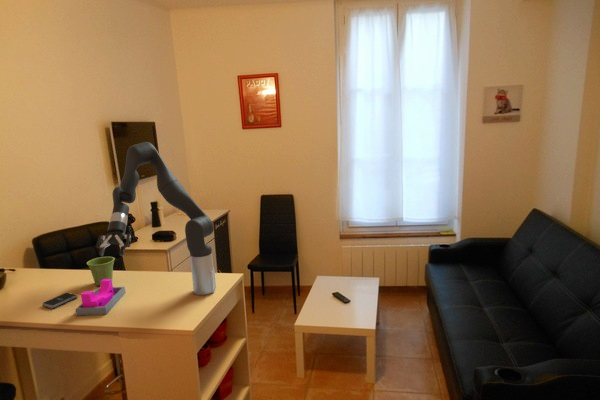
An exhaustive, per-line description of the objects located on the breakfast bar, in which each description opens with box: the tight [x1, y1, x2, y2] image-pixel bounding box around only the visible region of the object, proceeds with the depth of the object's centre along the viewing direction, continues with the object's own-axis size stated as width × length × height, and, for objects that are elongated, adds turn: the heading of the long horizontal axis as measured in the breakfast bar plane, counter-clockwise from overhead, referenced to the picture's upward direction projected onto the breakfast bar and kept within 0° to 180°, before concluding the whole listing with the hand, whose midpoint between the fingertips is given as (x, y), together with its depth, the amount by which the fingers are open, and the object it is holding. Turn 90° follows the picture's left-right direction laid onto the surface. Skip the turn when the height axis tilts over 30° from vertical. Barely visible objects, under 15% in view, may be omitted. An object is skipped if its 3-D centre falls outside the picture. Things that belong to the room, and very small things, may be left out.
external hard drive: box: [42, 292, 77, 310], centre depth 167 cm, size 7×11×2 cm, turn 156°
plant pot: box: [86, 256, 116, 287], centre depth 185 cm, size 12×12×11 cm
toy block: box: [80, 278, 114, 308], centre depth 163 cm, size 15×6×8 cm, turn 173°
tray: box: [75, 286, 126, 317], centre depth 164 cm, size 12×20×3 cm, turn 3°
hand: (111, 255), depth 175 cm, fingers open, 8 cm apart
